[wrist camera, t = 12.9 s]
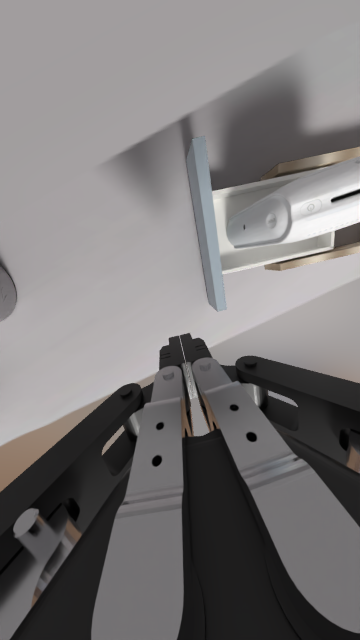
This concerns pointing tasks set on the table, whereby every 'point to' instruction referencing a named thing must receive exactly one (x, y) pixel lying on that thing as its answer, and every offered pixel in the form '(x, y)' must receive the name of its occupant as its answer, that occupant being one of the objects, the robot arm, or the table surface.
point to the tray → (215, 219)
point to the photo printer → (301, 208)
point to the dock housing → (303, 166)
